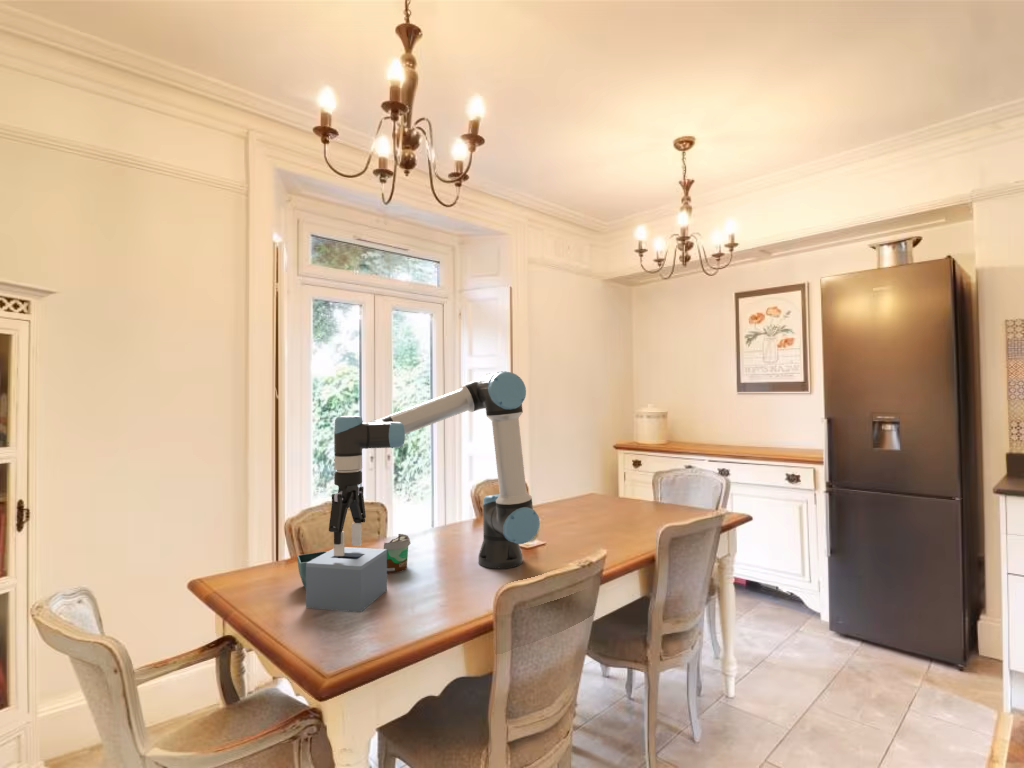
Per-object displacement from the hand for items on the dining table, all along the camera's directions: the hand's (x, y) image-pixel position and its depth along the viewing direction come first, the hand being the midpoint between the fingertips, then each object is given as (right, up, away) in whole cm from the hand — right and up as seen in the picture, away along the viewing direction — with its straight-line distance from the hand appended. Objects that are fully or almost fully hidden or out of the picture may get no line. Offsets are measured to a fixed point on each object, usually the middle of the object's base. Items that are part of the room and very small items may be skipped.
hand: (348, 550), depth 149 cm
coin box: (0, -14, 0) cm, 14 cm away
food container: (+9, -14, +25) cm, 31 cm away
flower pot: (-13, -14, +9) cm, 22 cm away
